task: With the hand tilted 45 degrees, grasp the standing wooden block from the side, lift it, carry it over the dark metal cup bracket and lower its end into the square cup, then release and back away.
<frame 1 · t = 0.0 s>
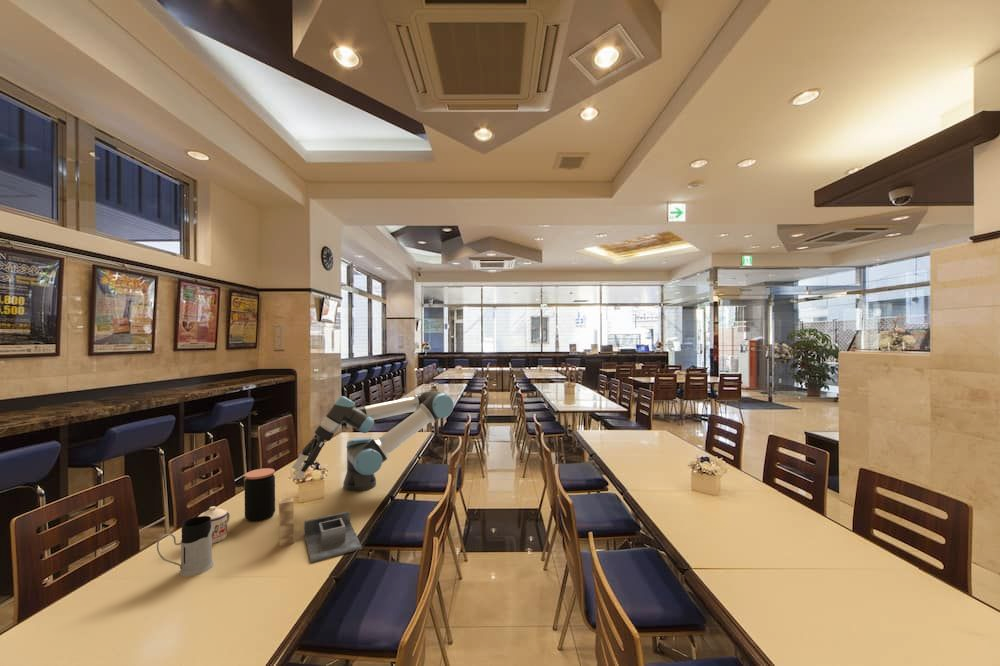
hand: (295, 473, 172), 15 cm above the table, tool tilted 35°, fingers open, 13 cm apart
cup bracket: (332, 541, 145), on the table
coffee jar: (260, 517, 165), on the table
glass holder: (186, 572, 127), on the table
teacup with lid: (216, 537, 149), on the table
wooden block: (286, 542, 144), on the table
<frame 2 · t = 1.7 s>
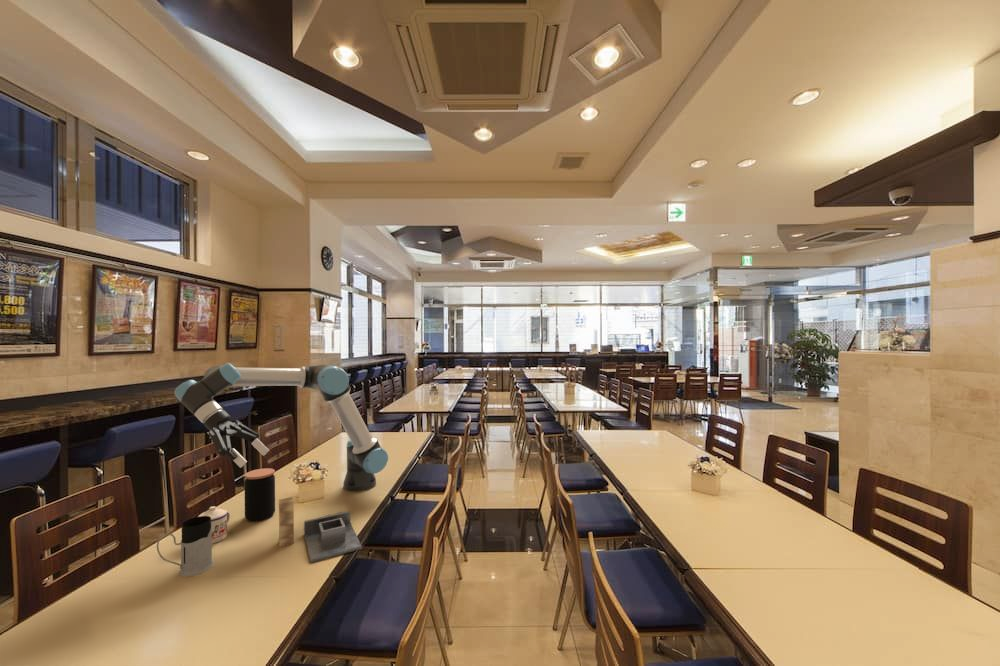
hand: (255, 458, 144), 30 cm above the table, tool tilted 45°, fingers open, 13 cm apart
nothing on the table moved.
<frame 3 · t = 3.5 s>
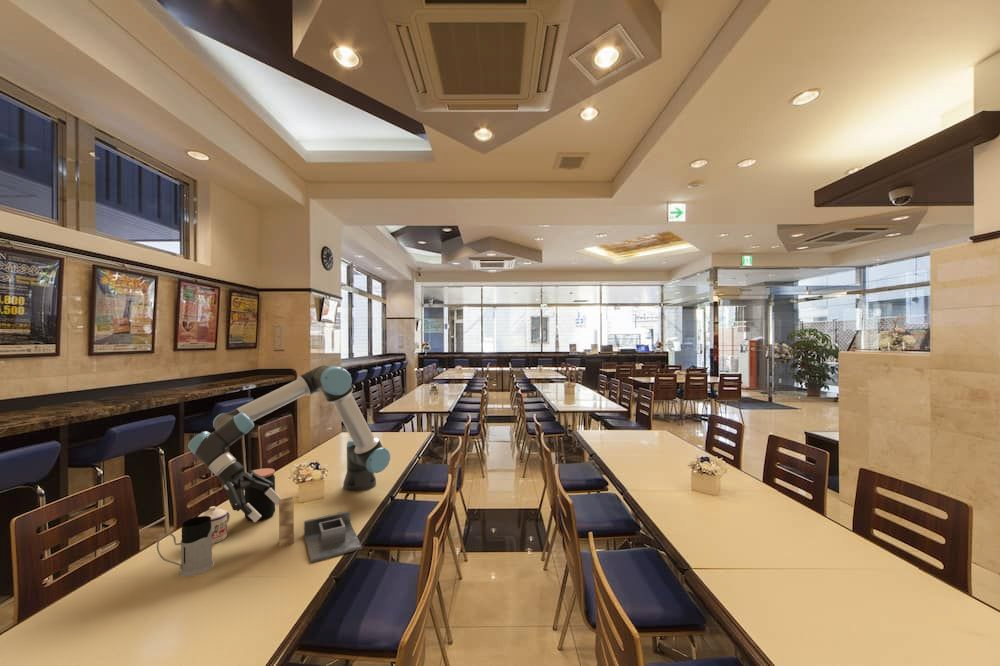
hand: (269, 510, 144), 12 cm above the table, tool tilted 45°, fingers open, 13 cm apart
nothing on the table moved.
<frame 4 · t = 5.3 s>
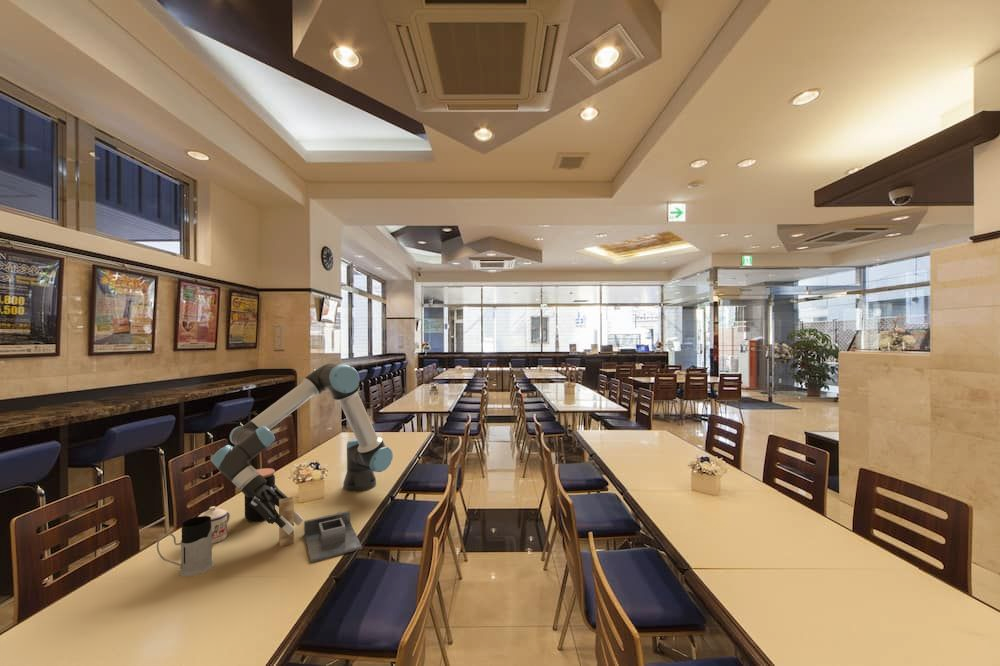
hand: (296, 526, 144), 5 cm above the table, tool tilted 45°, fingers closed on wooden block, 6 cm apart
wooden block: (286, 542, 144), on the table, touching gripper
everything else where it was.
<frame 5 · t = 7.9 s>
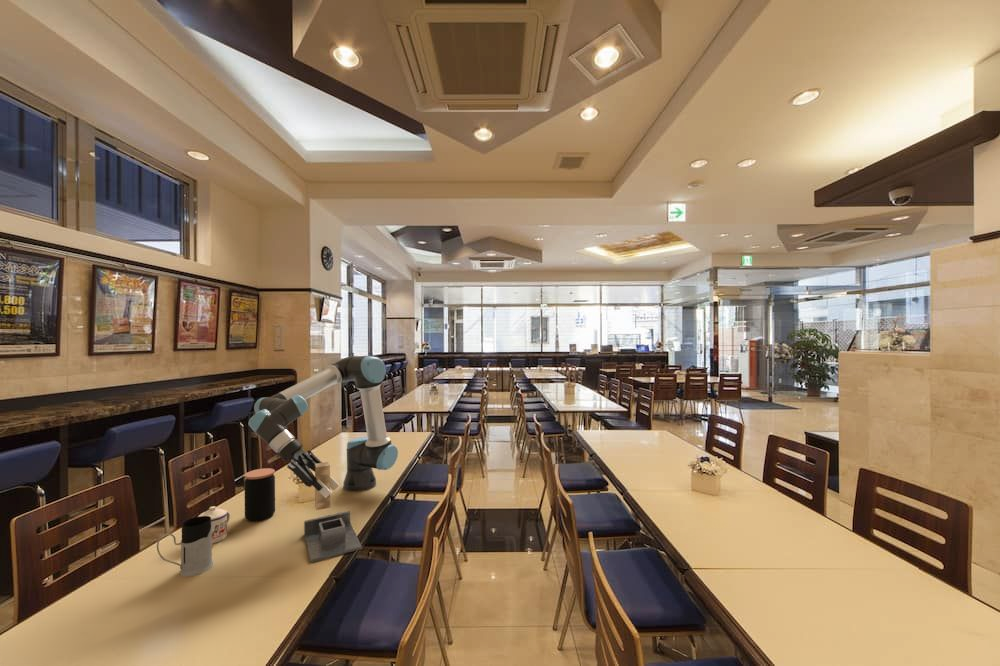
hand: (332, 491, 144), 18 cm above the table, tool tilted 45°, fingers closed on wooden block, 6 cm apart
wooden block: (322, 506, 144), point 13 cm above the table, touching gripper
everything else where it was.
when the fingers open (8 cm above the table, at t = 10.9 s): wooden block drops 2 cm, resting on cup bracket.
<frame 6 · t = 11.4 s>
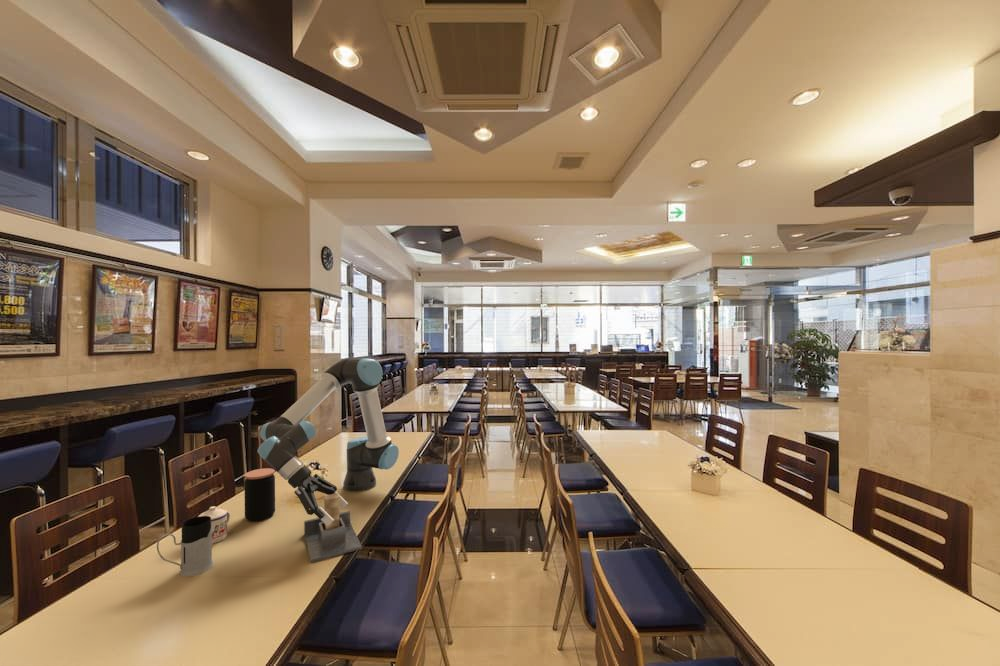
hand: (338, 514, 145), 10 cm above the table, tool tilted 45°, fingers open, 13 cm apart
wooden block: (332, 538, 145), point 1 cm above the table, touching cup bracket
everything else where it was.
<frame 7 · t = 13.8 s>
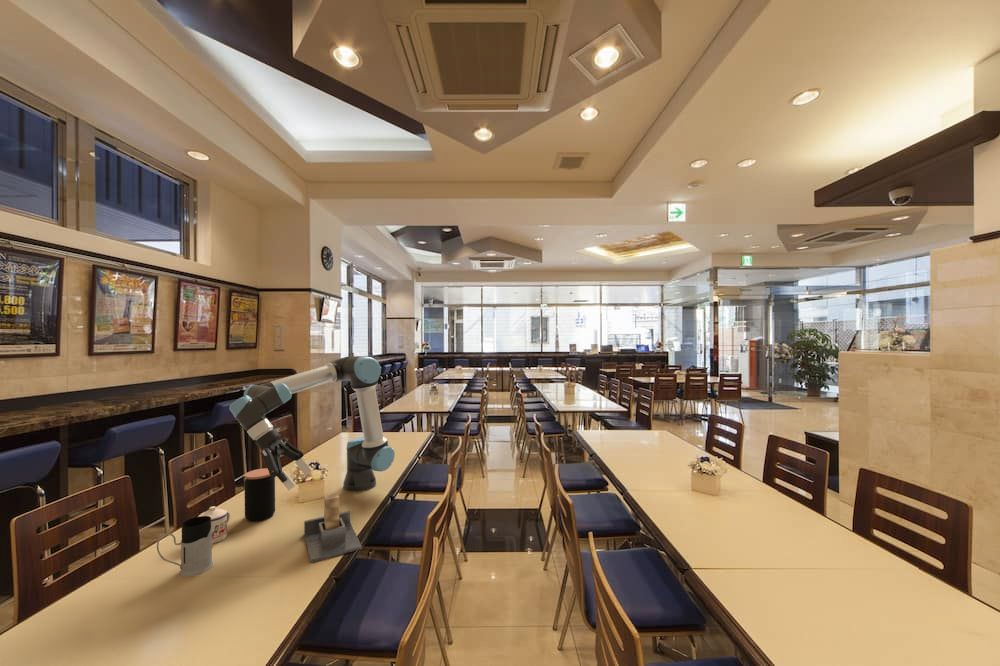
hand: (301, 480, 147), 21 cm above the table, tool tilted 35°, fingers open, 13 cm apart
nothing on the table moved.
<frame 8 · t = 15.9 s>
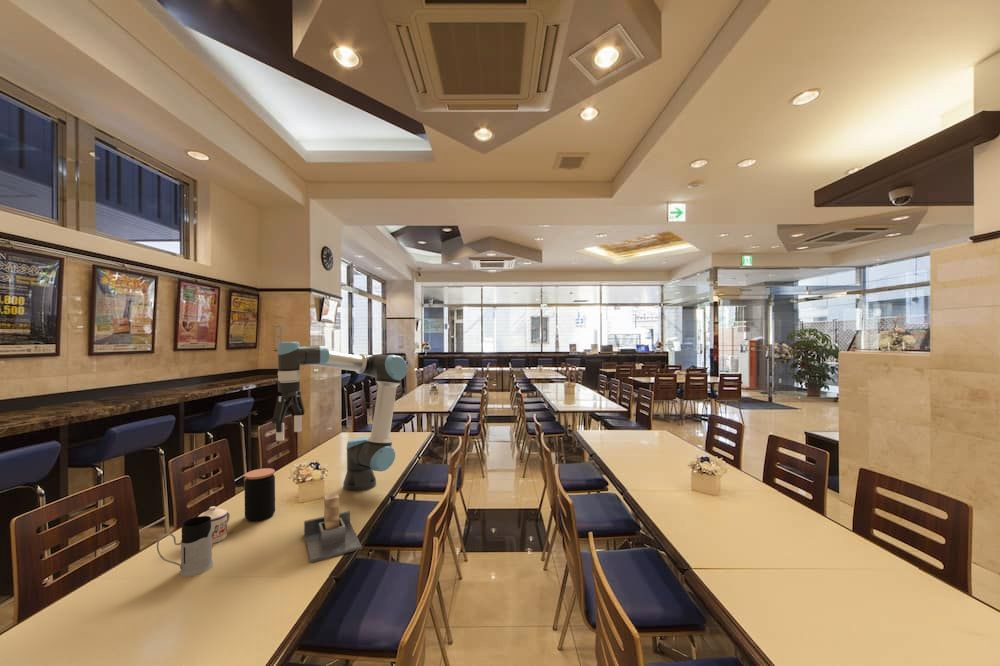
hand: (289, 436, 158), 35 cm above the table, tool pointing down, fingers open, 13 cm apart
nothing on the table moved.
at the end: wooden block 0.1 cm off-centre on the cup bracket, point 1.0 cm above the cup bracket's base; wooden block tilted 0°; the gripper is holding nothing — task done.
